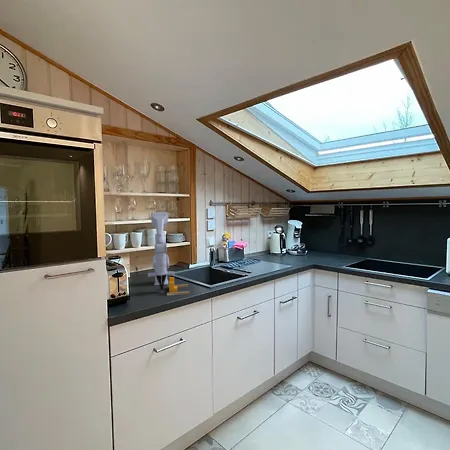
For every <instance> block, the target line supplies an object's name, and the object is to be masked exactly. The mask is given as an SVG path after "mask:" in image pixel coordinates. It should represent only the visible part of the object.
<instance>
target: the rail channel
mask: <svg viewBox="0 0 450 450" xmlns="http://www.w3.org/2000/svg"><path fill="white" fill-rule="evenodd" d="M176 286H177V288H189V284H187V283H185V284H174V287H176ZM167 289H169V284H167ZM183 295H184V296H185V295H190V291H177V292H172V293H169V292H166V296H183Z"/></svg>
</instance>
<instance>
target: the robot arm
mask: <svg viewBox="0 0 450 450" xmlns="http://www.w3.org/2000/svg"><path fill="white" fill-rule="evenodd" d="M150 214H151V215H150V218H151V219H150V222H151V225H152V227H154V228H155V230H156V233H155V235H154V242H155V243H154V255H153V256H152V269H153V270H154V272H148V273H147V278H150V277H154V278H155V279H154V280H155V282H154V286H159V289H160V290H163V289H164V286H165V285H166V286H168V285H169V280H168V276H169V277H171V276H173V277H174V276H176V275H175V274H176V273H175V271H174V270H173V271H170V270H169V271H168V269H169V268H170V258H169V255H168V254H167V251H168V249H167V248H168V247H167V242H166V233H164V228H165V227H167V226H168V222H169V219H168V215H169V214H168V212H167V211H162V212H160V211H159V212H158V211H157V212H155V211H154V212H152V211H151V213H150Z"/></svg>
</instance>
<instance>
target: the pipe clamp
mask: <svg viewBox="0 0 450 450" xmlns="http://www.w3.org/2000/svg"><path fill="white" fill-rule="evenodd" d="M168 278H169V281H168V285H169V288H168V289H169V290H168V293H172V292H178V287H177V286H176V287H174V285H175V277H174V276H173V277H171V276H169V277H168Z"/></svg>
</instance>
